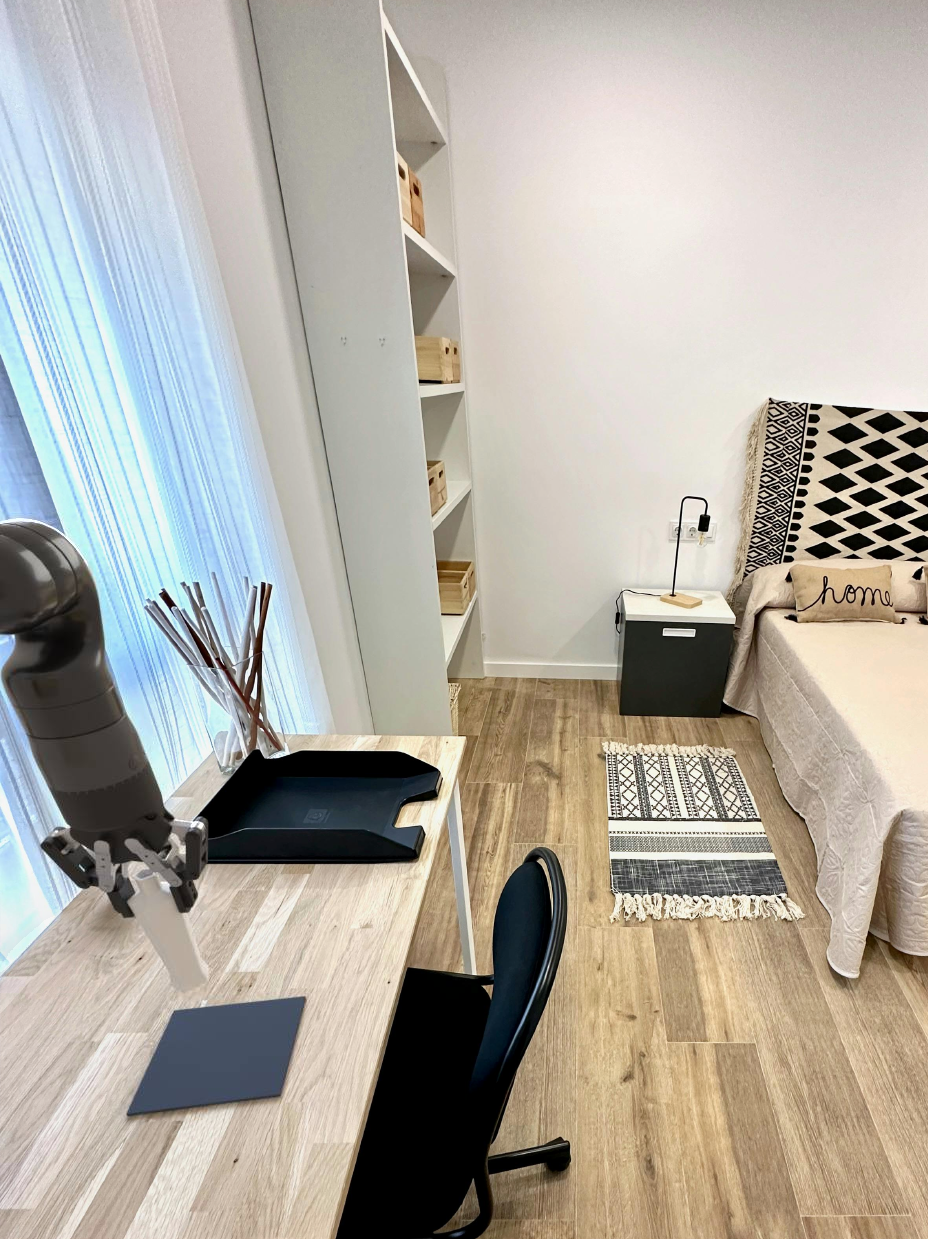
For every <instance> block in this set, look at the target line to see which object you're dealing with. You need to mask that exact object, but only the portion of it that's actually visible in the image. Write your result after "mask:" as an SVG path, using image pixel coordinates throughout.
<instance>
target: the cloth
mask: <svg viewBox="0 0 928 1239" xmlns="http://www.w3.org/2000/svg"><path fill="white" fill-rule="evenodd" d="M306 999H307V998H306V996H305V995H303V996H301V995H300V996H294V997H285V998H276V999H266V1000H258V1001H257V1000H256V1001H248V1002H237V1003H228V1004H219V1005H209V1006H200V1007H193V1008H184V1009H183V1008H182V1009H175V1010H173V1011H172V1014H171V1016H170V1018H169V1020H168V1021H167V1024H166V1026H165V1028H164V1031H163V1033H162V1035H161V1037H160V1040H159V1041H158V1044H157V1046H156V1049H155V1050H154V1053H153V1055H152V1057H151V1060H150V1061H149V1064H148V1065H147V1068H146V1070H145V1072H144V1074H143V1076H142V1078H141V1081H140V1083H139V1086H138V1087H137V1089H136V1092H135V1094H134V1095H133V1098H132V1101H131V1103H130V1105H129V1107H128V1109H127V1111H126V1113H125V1114H126V1117H131V1116H137V1115H138V1116H139V1115H146V1114H155V1113H162V1112H170V1111H176V1110H185V1109H193V1108H200V1107H208V1106H209V1107H210V1106H216V1105H225V1104H232V1103H237V1102H239V1103H240V1102H245V1101H252V1100H253V1101H254V1100H261V1099H269V1098H278V1097H281V1096H282V1092H283V1089H284V1084H285V1081H286V1077H287V1073H288V1069H289V1066H290V1061H291V1058H292V1054H293V1050H294V1045H295V1042H296V1038H297V1033H298V1029H299V1026H300V1023H301V1018H302V1015H303V1012H304V1007H305V1003H306Z"/></svg>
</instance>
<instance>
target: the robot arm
mask: <svg viewBox="0 0 928 1239" xmlns="http://www.w3.org/2000/svg"><path fill="white" fill-rule="evenodd" d="M98 592H99V591H98V587H97V584H96V581H95V578H94V576H93V572H92V570H91V568H90V566H89V564H88V562H87V560H86V559H85V558H84V555H83V554H82V553H81V551H80V550H79V549H78V548H77V546H76V545H75V544H74V543H73V542H72V541H71V540H70V539H69V538H68V537H67V536H66V535H65V534H64V533H62V532H61V531H59V530H58V529H57V528H55V527H53V526H51V525H49V524H46V523H43V522H41V521H38V520H34V519H28V518H12V519H7V520H2V521H0V636H12V635H13V636H14V646H13V650H12V652H11V654H10V655H9V657H8V658H7V659H6V661H5V663H4V664H3V665H2V667H1V670H0V680H1V684H2V687H3V690H4V692H5V694H6V697H7V698H8V700H9V703H10V705H11V707H12V708H13V711H14V713H15V715H16V717H17V719H18V721H19V723H20V725H21V727H22V729H23V731H24V733H25V735H26V737H27V741H28V743H29V747H30V751H31V754H32V756H33V759H34V762H35V764H36V765H37V768H38V770H39V772H40V773H41V776H42V778H43V779H44V782H45V783H46V786H47V788H48V790H49V792H50V794H51V796H52V798H53V800H54V803H55V804H56V806H57V808H58V810H59V812H60V814H61V816H62V818H63V820H64V822H65V823H66V825H68V826H69V827H67V828H66V827H64V826H56V827H55V828H53V830H52V831H50V832H49V834H48V835H47V836H46V837H45V838H44V839H43V841H42V842H41V844H40V845H39V847H40V849H41V850H42V851H43V852H44V853H45V854H46V855H47V856H48V857H49V858H50V859H51V861H53V863H55V864H56V865H57V867H58V868H59V869H60V870H61V872H63V873H64V874H65V875H66V876H67V878H69V879H70V880H71V882H73V884H75V886H77V888H79V889H82V890H88V889H89V888H91V887H95V888H99V890H100V891H102V892H104V893H106V895H107V897H108V900H109V902H110V903H111V906H112V908H113V909H114V911H115V912H116V913H117V914H118V915H119V914H121V916H122V918H123V919H131V918H132V919H133V918H134V917H135V915H134V913H133V912H132V910H131V909H130V907H129V905H128V904H127V901H128V900H129V899H130V898H131V897H132V896H133V895H134V894H135V893H136V892H137V891H136V890H135V887H134V886H133V884H132V881H131V879H130V877H129V876H128V877H123V874H124V863H126V862H130V861H131V862H136V863H137V862H138V863H144V864H145V865H146V866H147V868H148V867H149V868H150V869H151V870H152V871H153V872H154V873H156V872H157V874H159V876H161V877H162V878H163V879H164V880H165V882H166V881H167V882H168V883H169V884H170V887H169V889H170V891H171V894H172V896H173V898H174V901H175V903H176V905H177V908H178V910H179V912H180V913H187V914H188V913H190V912H191V910H192V908H194V906H195V904H196V903H197V900H198V897H199V892H198V890H197V887H196V884H195V882H194V881H197V880H199V879H200V877H201V876H202V873H203V871H204V869H205V868H206V866H207V864H208V861H209V860H208V858H209V821H208V819H207V818H205V817H203V816H197V817H195V818H194V820H193V821H188V820H182V819H176V817H175V816H174V815H173V814H172V813H171V812H170V811H169V810H167V808H166V807H165V804H164V798H163V795H162V790H161V788H160V786H159V784H158V780H157V778H156V776H155V773H154V770H153V768H152V766H151V762H150V761H149V758H148V755H147V753H146V750H145V747H144V745H143V743H142V739H141V737H140V735H139V732H138V730H137V729H136V727H135V724H134V723H133V722H132V720H131V719H130V717H129V714H128V713H127V711H126V708H125V706H124V703H123V701H122V697H121V696H120V693H119V691H118V688H117V685H116V683H115V680H114V678H113V676H112V673H111V671H110V669H109V667H108V664H107V657H106V640H105V632H104V630H105V629H104V623H103V617H102V610H101V603H100V597H99V593H98ZM172 834H174V835H176V836H177V837H178V841H179V842H180V843H179V844H180V845H181V846H183V847H184V846H185V858H184V856H183V855H182V854H181V853H180V848H179V845H178V844H176V842H175V841H174V840H173V839H172V838H171V835H172ZM86 848H88V849H90V850H91V851H93V852H94V853H95V854H96V860H95V859H94V858H93V857H92V856H91V855H90V854H89V853H88V851H87V850H86ZM131 862H130V863H131Z"/></svg>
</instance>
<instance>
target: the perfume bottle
mask: <svg viewBox="0 0 928 1239" xmlns="http://www.w3.org/2000/svg"><path fill="white" fill-rule="evenodd" d="M131 878H132V879H133V880H135V883H136V885H137V887H138V889H139V890H137V891H135V892H136V893H135V894H134V895H133V896H132V897H131V898H130V899H129V900H128V901H127V904H128V905H129V907H130V909H131V910H132V912H133V913H134V915H135V916H134V917H135V918H136V920H137V922H138V923H139V925H140V926H141V928H142V930H143V932H144V934H145V935H146V937H147V938H148V940H149V941H150V943H151V945H152V946H153V948H154V950H155V951H156V953H157V955H158V956H159V958H160V960H161V961H162V963H163V965H164V966H165V968H166V970H167V971H168V973H169V979H170V981H169V982H170V986H171V987H173V988H174V989H176V990H177V991H179V992H181V993H183V994H186V993H188V992H190V991H192V990H194V989H196V988H198V987H200V986H202V985H205V984H207V982H209V981H210V967H209V965H208V964H207V963H206V962H205V961H204V960H203V959H202V957H201V953H200V951H199V946H198V944H197V940H196V937H195V934H194V930H193V928H192V925H191V924H192V923H191V921H190V917H189V914H188V913H180V912H179V910H178V908H177V905H176V903H175V901H174V898H173V896H172V894H171V891H170V889H169V887H170V884H169V883H168V882H167V881H166V880H165V881H161V878H160V875H159V873H158V872H156V873H154V872H153V871H152V870H151V869H150V868H149V867H148V866H147V867H141V868H140V869H138V871H136V872H135V873H134V874H133V875H131Z"/></svg>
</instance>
